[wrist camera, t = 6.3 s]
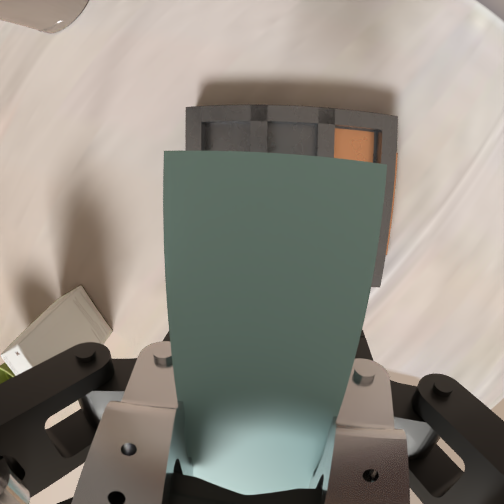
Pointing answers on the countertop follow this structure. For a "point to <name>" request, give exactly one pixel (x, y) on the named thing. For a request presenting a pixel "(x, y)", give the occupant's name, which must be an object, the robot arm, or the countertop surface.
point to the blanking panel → (265, 305)
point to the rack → (303, 141)
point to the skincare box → (57, 331)
